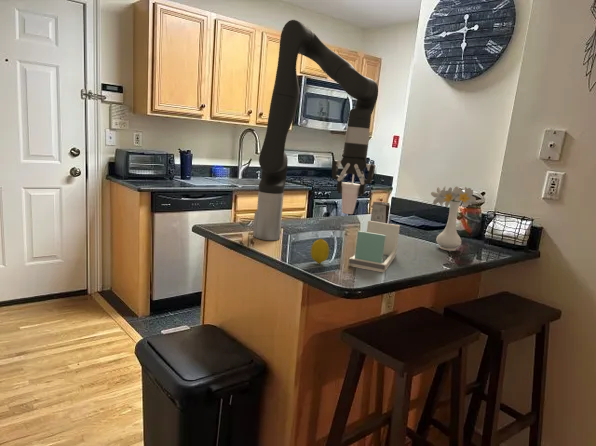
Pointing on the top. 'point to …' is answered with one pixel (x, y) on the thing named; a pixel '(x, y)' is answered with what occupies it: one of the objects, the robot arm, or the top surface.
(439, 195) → the flower vase
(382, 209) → the coffee box
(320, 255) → the lemon
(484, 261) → the top surface
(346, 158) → the robot arm
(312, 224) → the top surface
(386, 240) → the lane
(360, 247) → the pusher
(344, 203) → the smoothie
